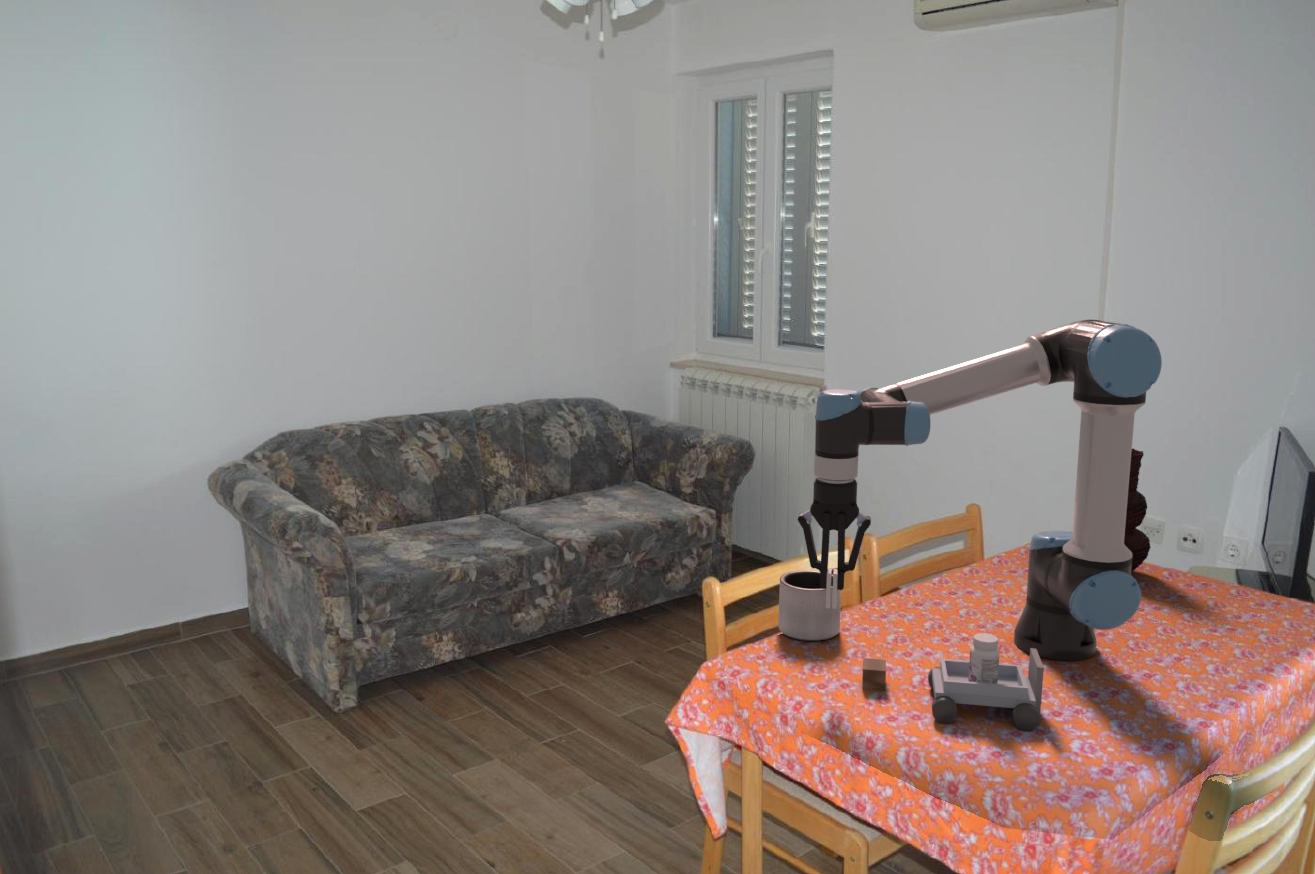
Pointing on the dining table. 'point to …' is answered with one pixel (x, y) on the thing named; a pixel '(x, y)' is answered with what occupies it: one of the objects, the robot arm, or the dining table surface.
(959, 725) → the dining table surface
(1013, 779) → the dining table surface
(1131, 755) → the dining table surface
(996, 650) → the pill bottle
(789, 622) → the planter
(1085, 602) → the robot arm
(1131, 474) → the vase
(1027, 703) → the trolley
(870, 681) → the block
